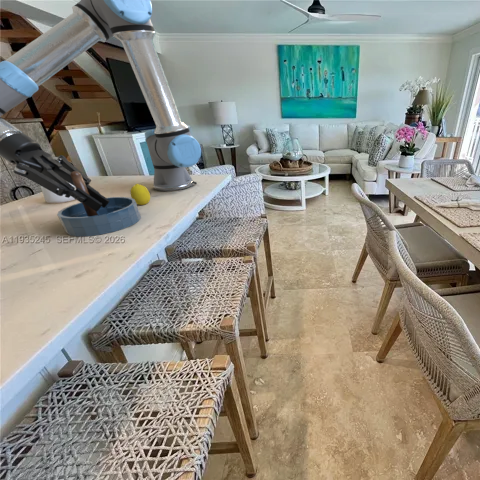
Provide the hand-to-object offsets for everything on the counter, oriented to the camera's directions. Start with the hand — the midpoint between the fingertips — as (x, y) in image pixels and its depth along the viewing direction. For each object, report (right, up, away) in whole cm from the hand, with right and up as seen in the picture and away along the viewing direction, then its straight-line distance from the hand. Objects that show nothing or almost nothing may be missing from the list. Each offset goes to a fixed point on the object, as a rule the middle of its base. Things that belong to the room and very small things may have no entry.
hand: (103, 205), depth 73 cm
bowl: (-2, -5, +4) cm, 7 cm away
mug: (-35, +6, +26) cm, 44 cm away
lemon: (-1, +2, +19) cm, 20 cm away
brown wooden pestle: (-4, -5, +3) cm, 7 cm away
